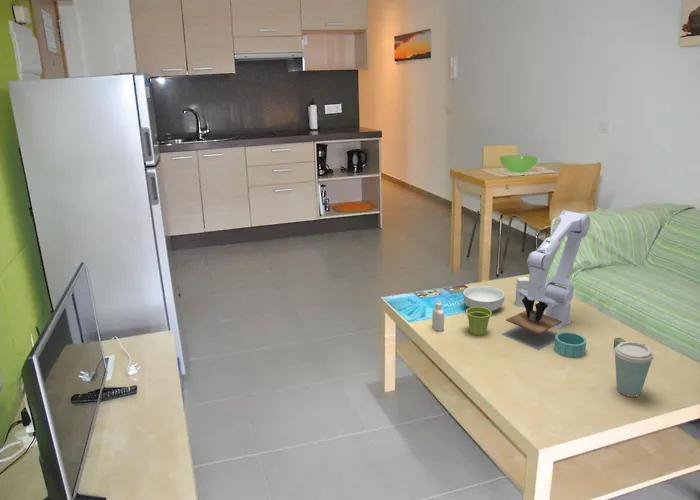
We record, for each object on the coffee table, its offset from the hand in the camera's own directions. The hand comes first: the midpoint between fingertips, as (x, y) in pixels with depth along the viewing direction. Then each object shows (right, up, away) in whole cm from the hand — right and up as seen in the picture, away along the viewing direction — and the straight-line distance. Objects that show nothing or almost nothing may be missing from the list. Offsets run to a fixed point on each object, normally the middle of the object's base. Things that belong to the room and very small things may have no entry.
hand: (534, 318), depth 201 cm
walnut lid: (0, -1, 0) cm, 1 cm away
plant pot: (-19, -6, +6) cm, 21 cm away
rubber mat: (0, -7, +2) cm, 7 cm away
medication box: (+28, -12, -12) cm, 33 cm away
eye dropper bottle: (-34, -5, +10) cm, 36 cm away
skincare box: (+5, +2, +29) cm, 29 cm away
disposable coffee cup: (+18, -18, -33) cm, 42 cm away
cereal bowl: (-12, +1, +27) cm, 30 cm away
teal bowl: (+9, -10, -9) cm, 17 cm away
